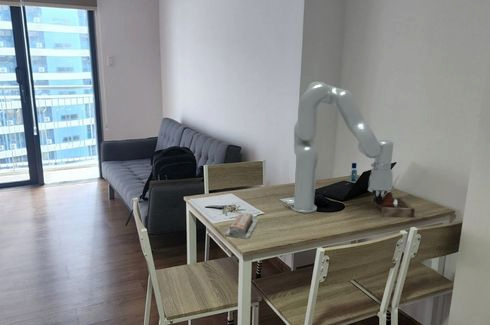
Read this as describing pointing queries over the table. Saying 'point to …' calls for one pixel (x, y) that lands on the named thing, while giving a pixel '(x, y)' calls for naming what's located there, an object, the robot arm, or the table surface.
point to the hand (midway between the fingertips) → (377, 203)
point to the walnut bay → (397, 209)
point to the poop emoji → (388, 201)
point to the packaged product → (242, 226)
